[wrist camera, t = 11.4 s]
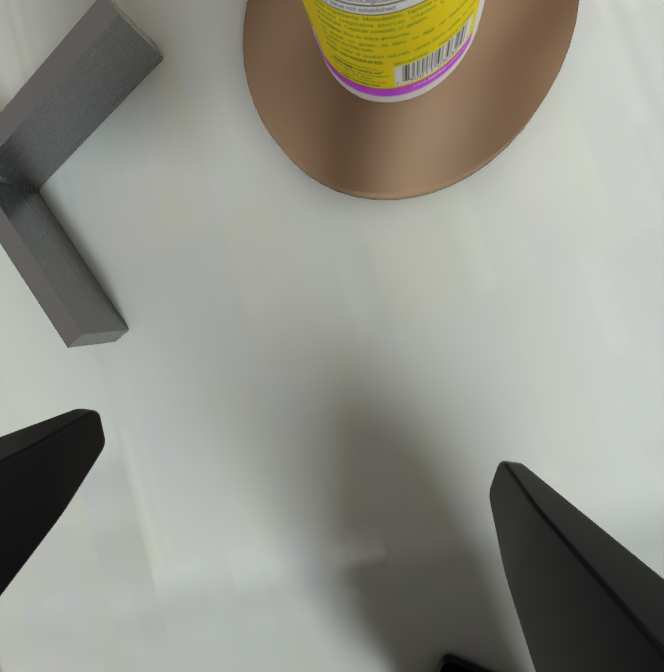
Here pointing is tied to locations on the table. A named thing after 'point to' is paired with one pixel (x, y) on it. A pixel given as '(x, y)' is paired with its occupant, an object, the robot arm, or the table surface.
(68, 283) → the rack bracket
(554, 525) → the robot arm
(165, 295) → the table surface
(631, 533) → the table surface
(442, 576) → the table surface
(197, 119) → the table surface
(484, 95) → the copper plate
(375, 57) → the supplement bottle
